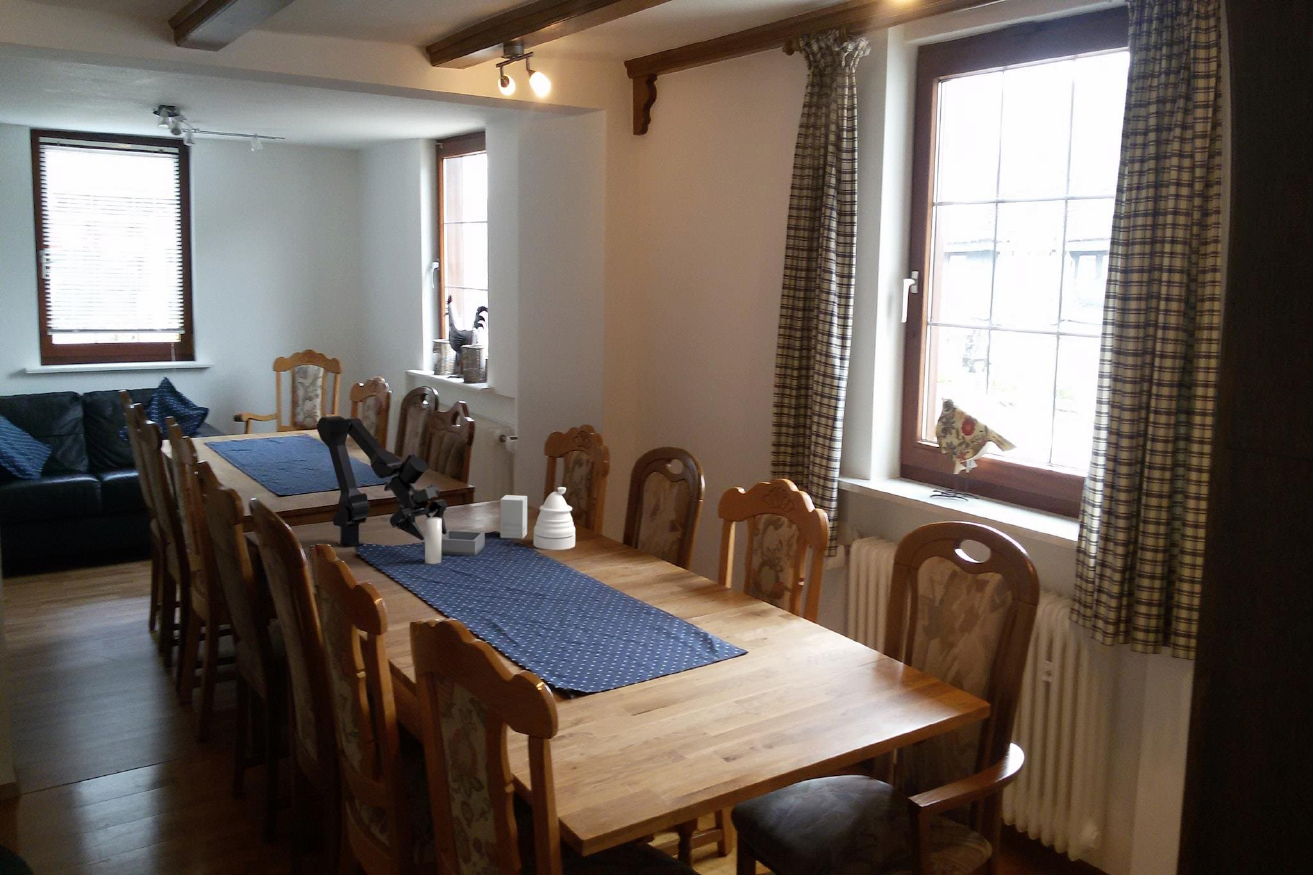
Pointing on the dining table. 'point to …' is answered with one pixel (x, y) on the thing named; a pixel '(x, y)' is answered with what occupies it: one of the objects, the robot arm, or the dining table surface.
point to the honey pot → (554, 524)
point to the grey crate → (462, 543)
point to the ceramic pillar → (433, 540)
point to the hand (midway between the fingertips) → (434, 536)
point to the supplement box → (513, 517)
